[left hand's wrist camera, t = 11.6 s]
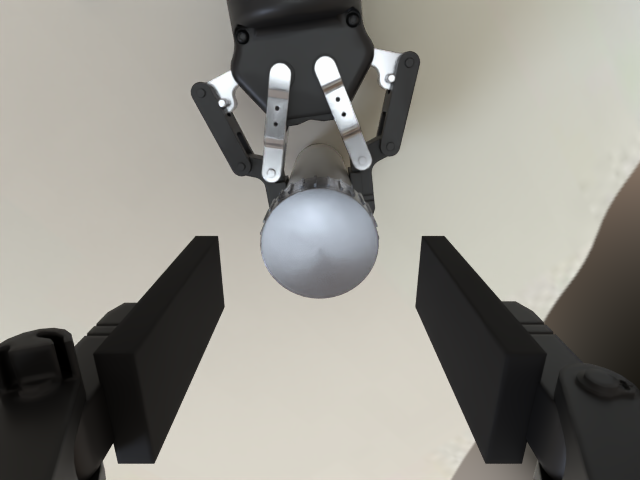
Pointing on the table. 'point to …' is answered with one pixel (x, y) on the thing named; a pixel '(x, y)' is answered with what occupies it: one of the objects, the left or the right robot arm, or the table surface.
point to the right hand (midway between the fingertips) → (325, 226)
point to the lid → (319, 238)
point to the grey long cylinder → (319, 164)
